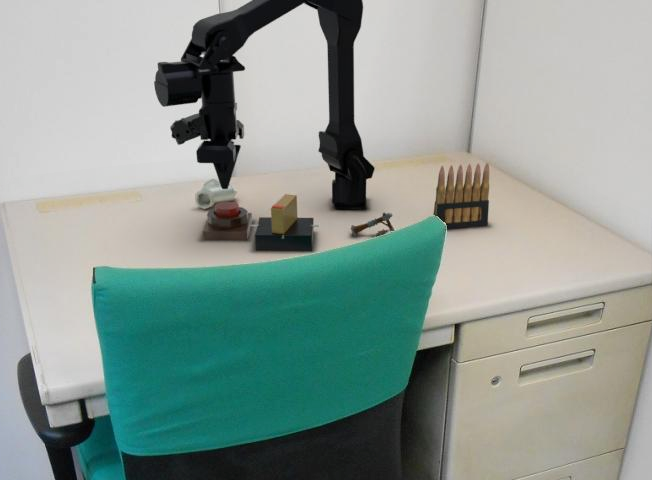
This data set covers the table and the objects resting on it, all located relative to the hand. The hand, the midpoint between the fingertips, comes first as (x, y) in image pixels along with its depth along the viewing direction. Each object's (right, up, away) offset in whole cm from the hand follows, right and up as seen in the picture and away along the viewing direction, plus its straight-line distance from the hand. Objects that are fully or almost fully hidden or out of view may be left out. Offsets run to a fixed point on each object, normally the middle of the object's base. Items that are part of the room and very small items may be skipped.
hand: (224, 188), depth 153 cm
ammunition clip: (+44, -5, +8) cm, 45 cm away
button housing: (0, -7, +4) cm, 8 cm away
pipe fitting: (-4, +1, +17) cm, 18 cm away
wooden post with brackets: (+27, -8, +4) cm, 28 cm away
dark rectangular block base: (+11, -10, 0) cm, 15 cm away
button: (0, -4, +3) cm, 5 cm away
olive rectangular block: (+11, -7, -2) cm, 13 cm away
